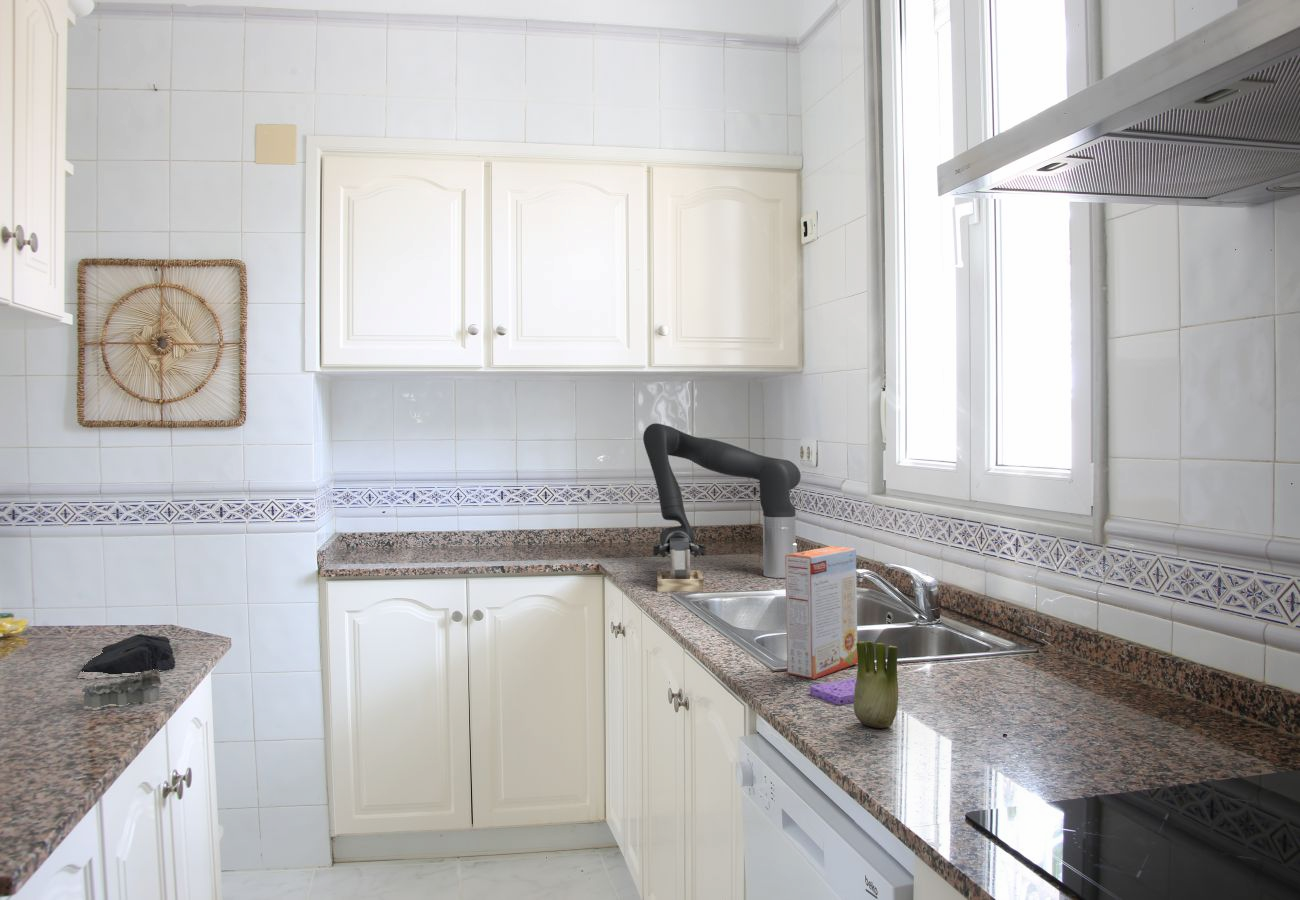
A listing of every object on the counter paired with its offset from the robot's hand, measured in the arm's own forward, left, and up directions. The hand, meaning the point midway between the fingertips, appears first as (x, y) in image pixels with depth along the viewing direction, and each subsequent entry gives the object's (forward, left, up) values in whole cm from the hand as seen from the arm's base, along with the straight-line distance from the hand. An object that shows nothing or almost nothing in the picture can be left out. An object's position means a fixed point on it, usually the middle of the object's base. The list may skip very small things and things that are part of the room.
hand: (679, 553), depth 239 cm
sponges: (-26, +96, -10) cm, 100 cm away
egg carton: (+90, +99, -10) cm, 134 cm away
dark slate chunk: (+103, +75, -10) cm, 128 cm away
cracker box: (-23, +82, -9) cm, 86 cm away
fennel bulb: (-25, +112, -10) cm, 115 cm away
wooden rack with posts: (0, -2, -9) cm, 9 cm away
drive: (0, -2, -8) cm, 8 cm away
